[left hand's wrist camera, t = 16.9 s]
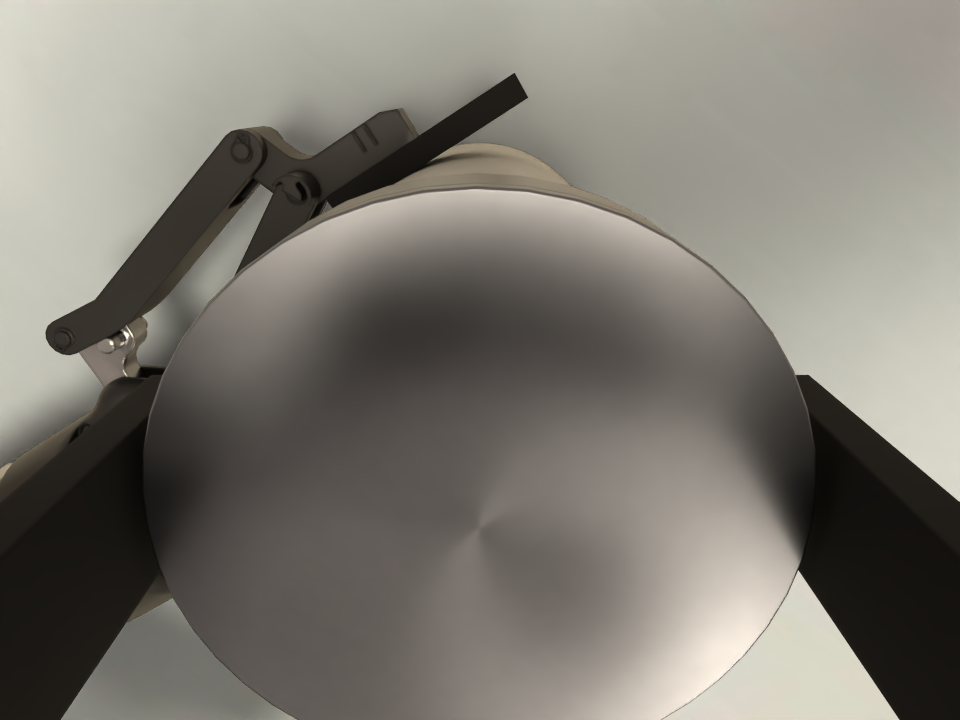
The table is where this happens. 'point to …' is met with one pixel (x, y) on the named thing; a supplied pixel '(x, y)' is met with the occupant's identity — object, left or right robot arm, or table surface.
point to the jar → (485, 163)
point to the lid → (479, 462)
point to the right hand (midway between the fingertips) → (597, 230)
